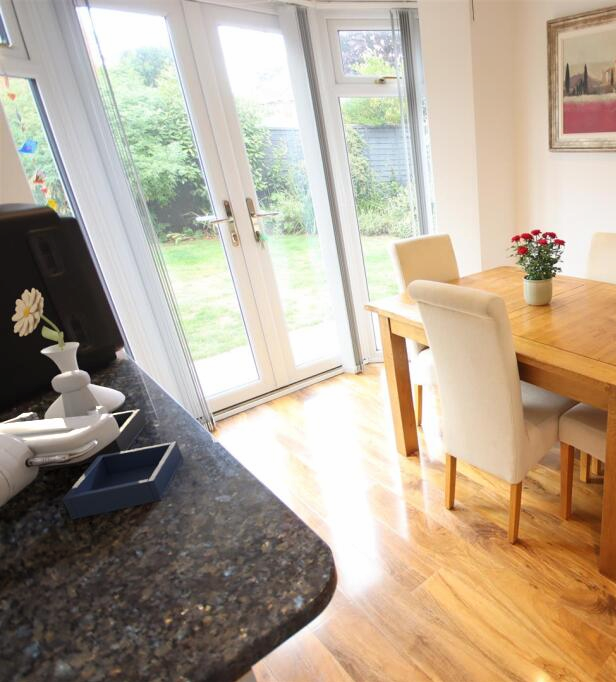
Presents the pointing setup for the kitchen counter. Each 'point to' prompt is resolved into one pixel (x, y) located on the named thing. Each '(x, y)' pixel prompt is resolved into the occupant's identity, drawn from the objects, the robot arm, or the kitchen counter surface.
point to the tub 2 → (124, 480)
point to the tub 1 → (129, 431)
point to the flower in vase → (58, 352)
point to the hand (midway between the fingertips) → (67, 413)
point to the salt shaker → (75, 392)
